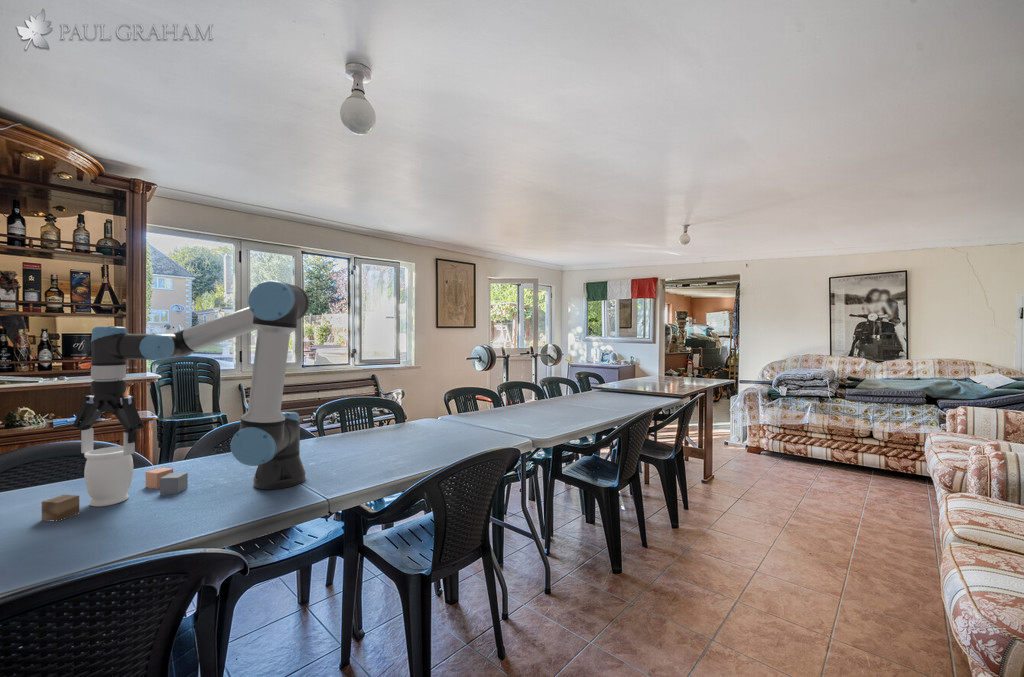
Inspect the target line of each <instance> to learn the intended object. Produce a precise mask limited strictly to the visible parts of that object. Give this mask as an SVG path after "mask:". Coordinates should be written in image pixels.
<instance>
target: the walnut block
mask: <svg viewBox="0 0 1024 677" xmlns="http://www.w3.org/2000/svg"><path fill="white" fill-rule="evenodd" d="M78 513H79V514H80V495H74V494H62V495H59V496H55V497H51V498H49V499H46V500H42V501H41V521H43V520H54V521H53V522H60V521H59V520H61V519H64V518H66V519H68V518H67V517H69V518H71V517H70V516H72V517H74V516H76V515H75V514H77V515H79V514H78ZM73 515H74V516H73ZM56 520H57V521H56ZM64 520H65V519H64ZM61 521H62V520H61Z"/></svg>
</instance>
